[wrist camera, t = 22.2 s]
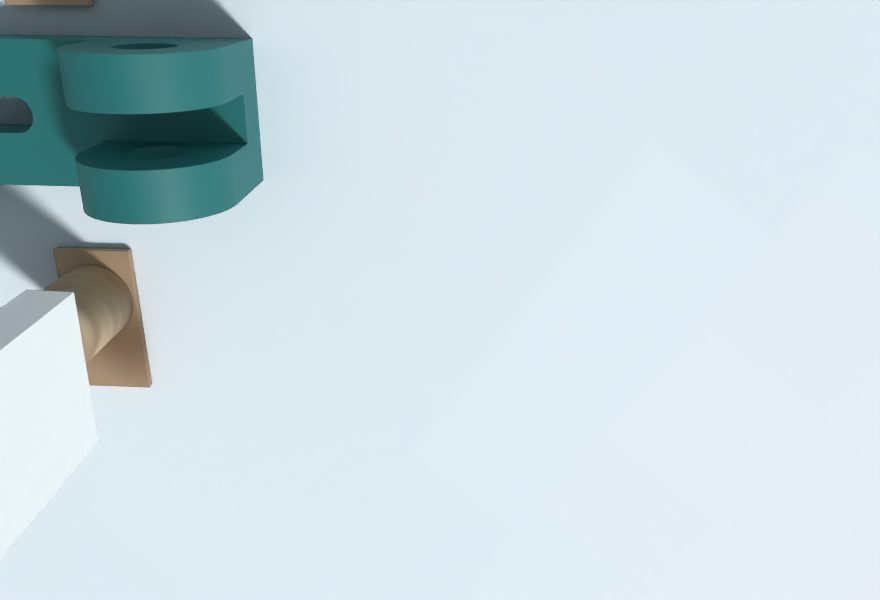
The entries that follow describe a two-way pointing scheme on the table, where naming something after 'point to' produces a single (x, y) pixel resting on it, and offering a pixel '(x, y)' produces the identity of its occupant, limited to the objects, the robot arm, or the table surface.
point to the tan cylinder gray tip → (97, 304)
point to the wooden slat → (127, 349)
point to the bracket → (134, 123)
